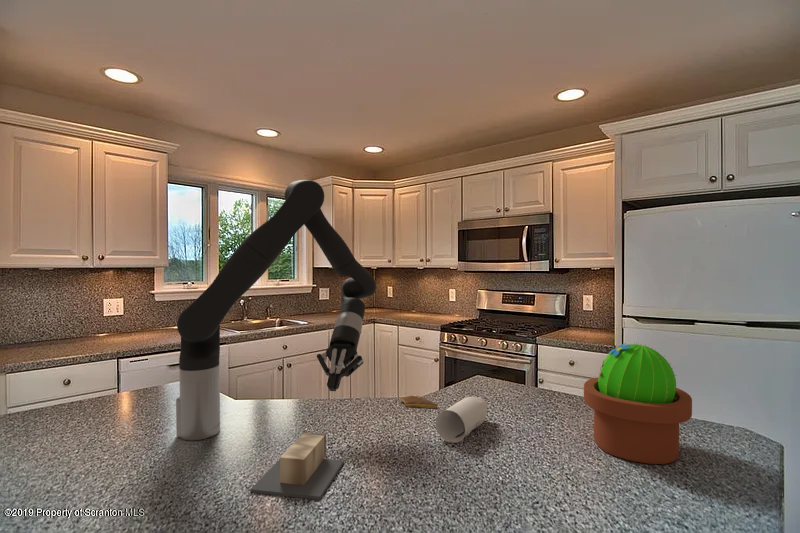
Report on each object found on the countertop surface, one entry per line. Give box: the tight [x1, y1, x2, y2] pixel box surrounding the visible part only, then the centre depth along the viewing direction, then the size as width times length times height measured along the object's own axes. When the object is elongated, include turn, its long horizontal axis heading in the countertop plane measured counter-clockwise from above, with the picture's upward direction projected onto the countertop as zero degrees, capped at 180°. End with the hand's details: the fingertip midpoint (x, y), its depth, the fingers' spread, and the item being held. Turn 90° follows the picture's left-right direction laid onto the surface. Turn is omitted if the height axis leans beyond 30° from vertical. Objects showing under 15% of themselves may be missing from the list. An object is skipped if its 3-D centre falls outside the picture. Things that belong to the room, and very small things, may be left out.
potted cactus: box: [583, 342, 693, 465], centre depth 98 cm, size 22×22×25 cm
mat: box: [249, 458, 345, 501], centre depth 85 cm, size 14×14×1 cm
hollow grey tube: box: [434, 396, 489, 444], centre depth 108 cm, size 8×19×8 cm, turn 145°
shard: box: [399, 395, 439, 409], centre depth 127 cm, size 11×8×2 cm
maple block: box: [279, 432, 327, 485], centre depth 87 cm, size 5×5×12 cm
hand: (332, 389), depth 104 cm, fingers closed
